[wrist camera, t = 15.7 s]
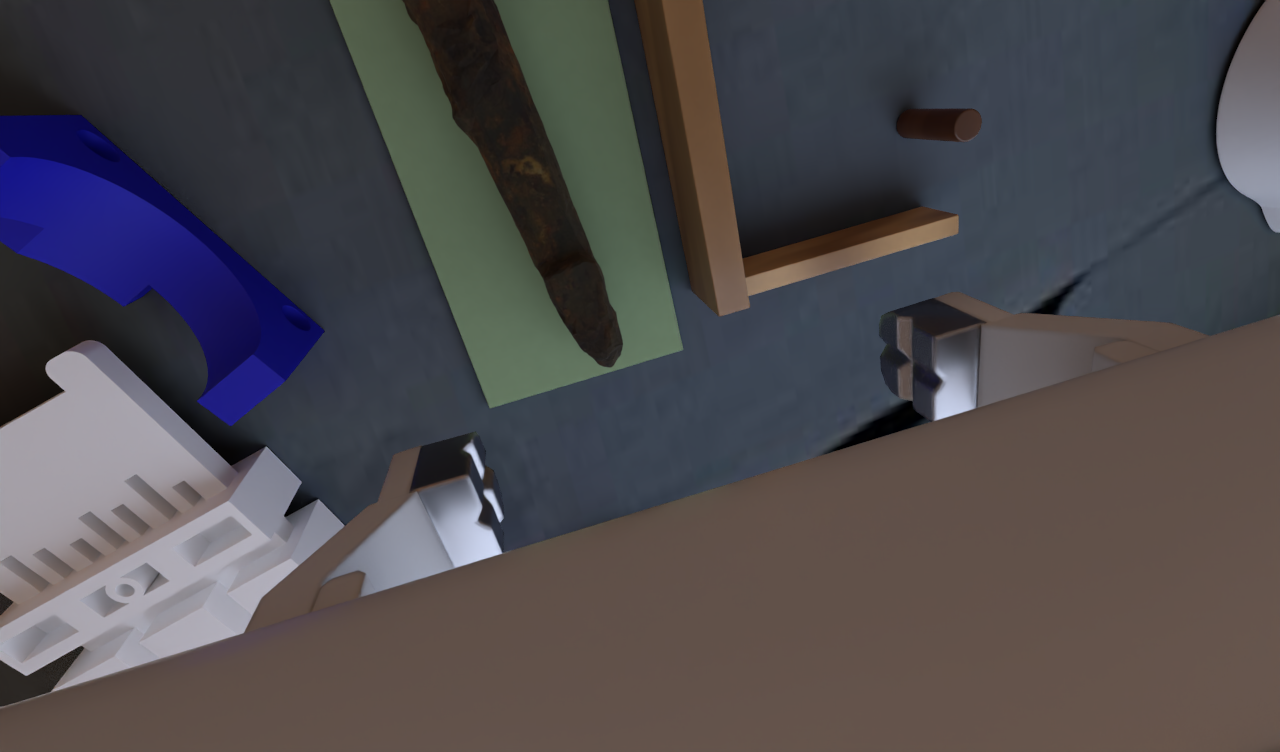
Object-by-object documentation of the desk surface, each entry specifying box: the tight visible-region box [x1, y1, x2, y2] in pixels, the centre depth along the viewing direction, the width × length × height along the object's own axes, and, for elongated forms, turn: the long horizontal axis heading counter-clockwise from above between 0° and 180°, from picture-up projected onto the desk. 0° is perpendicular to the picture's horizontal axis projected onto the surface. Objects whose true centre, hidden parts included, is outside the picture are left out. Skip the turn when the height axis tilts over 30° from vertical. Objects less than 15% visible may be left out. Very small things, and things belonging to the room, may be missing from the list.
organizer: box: [0, 340, 345, 692], centre depth 33 cm, size 13×5×35 cm
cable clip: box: [0, 115, 324, 426], centre depth 24 cm, size 12×4×6 cm, turn 36°
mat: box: [329, 0, 683, 408], centre depth 28 cm, size 11×22×1 cm, turn 13°
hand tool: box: [402, 0, 623, 368], centre depth 26 cm, size 19×4×5 cm, turn 18°
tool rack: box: [634, 0, 982, 316], centre depth 26 cm, size 14×24×4 cm, turn 13°
